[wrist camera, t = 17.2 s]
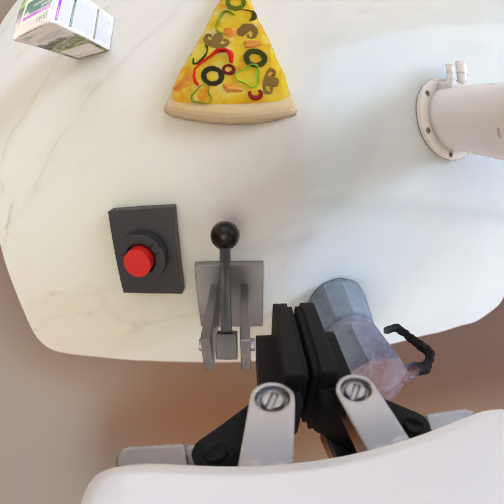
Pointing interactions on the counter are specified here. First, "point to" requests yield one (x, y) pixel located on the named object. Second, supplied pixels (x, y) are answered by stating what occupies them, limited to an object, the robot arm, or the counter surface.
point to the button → (139, 261)
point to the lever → (225, 289)
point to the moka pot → (367, 338)
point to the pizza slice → (232, 73)
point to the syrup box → (64, 27)
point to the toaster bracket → (242, 305)
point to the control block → (153, 237)
